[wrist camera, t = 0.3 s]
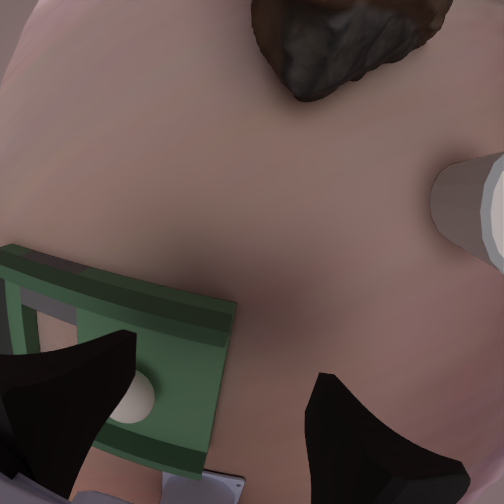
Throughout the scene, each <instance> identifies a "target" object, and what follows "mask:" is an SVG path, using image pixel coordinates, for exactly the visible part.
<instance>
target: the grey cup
mask: <svg viewBox="0 0 504 504" xmlns="http://www.w3.org/2000/svg"><path fill="white" fill-rule="evenodd" d="M430 209H431V216H432V219H433V221H434V223H435V225H436V227H437V229H438V231H439V232H440V233H441V234H442V235H443V236H444V237H445V238H447V239H448V240H449V241H451V242H453V243H454V244H456V245H458V246H459V247H461V248H463V249H464V250H466V251H468V252H469V253H471V254H472V255H474V256H476V257H477V258H479V259H481V260H482V261H484V262H485V263H487V264H488V265H490V266H492V267H493V268H495V269H496V270H498V271H499V272H501V273H502V274H504V152H500V153H496V154H492V155H488V156H484V157H480V158H476V159H472V160H468V161H464V162H460V163H456V164H452V165H449V166H448V167H447V168H445V169H444V170H443V171H441V172H440V173H439V175H438V176H437V178H436V180H435V182H434V184H433V185H432V190H431V196H430Z"/></svg>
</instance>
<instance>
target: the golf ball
mask: <svg viewBox="0 0 504 504" xmlns="http://www.w3.org/2000/svg"><path fill="white" fill-rule="evenodd" d="M154 401H155V394H154V390H153V387H152V385H151V383H150V381H149V380H148V378H147V377H146V376H145V375H144V374H142V373H141V372H139V371H138V370H136V375H135V377H134V379H133V381H132V383H131V385H130V387H129V389H128V391H127V393H126V394H125V396H124V397H123V399H122V400H121V401H120V403H119V404H118V406H117V407H116V408H115V410H114V411H113V413H112V414H111V415H110V417H111V418H112V419H114V420H116V421H118V422H121V423H136V422H139V421H141V420H143V419H144V418H146V417H147V416H148V415H149V413H150V412H151V410H152V408H153V406H154Z"/></svg>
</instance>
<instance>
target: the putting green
mask: <svg viewBox="0 0 504 504" xmlns="http://www.w3.org/2000/svg"><path fill="white" fill-rule="evenodd" d="M236 305H237V303H236V302H231V301H226V300H222V299H217V298H213V297H208V296H204V295H199V294H195V293H191V292H186V291H182V290H178V289H174V288H170V287H165V286H161V285H157V284H153V283H149V282H145V281H141V280H137V279H133V278H129V277H126V276H122V275H118V274H114V273H110V272H107V271H103V270H99V269H96V268H92V267H88V266H85V265H81V264H78V263H74V262H71V261H67V260H64V259H60V258H57V257H54V256H50V255H47V254H44V253H40V252H37V251H34V250H30V249H27V248H24V247H21V246H18V245H14V244H9V245H5V246H2V247H0V354H8V355H20V354H33V353H40V346H39V337H38V328H37V317H36V310H37V311H40V312H42V313H45V314H47V315H50V316H52V317H55V318H57V319H60V320H62V321H65V322H68V323H70V324H73V325H76V326H77V339H78V344H81V343H84V342H87V341H90V340H93V339H95V338H98V337H101V336H104V335H106V334H109V333H112V332H115V331H118V330H121V329H125V330H128V331H132V332H135V333H137V344H136V370H138V371H139V372H141V373H142V374H144V375H145V376H146V377H147V378H148V380H149V381H150V383H151V385H152V387H153V390H154V394H155V401H154V406H153V408H152V410H151V412H150V413H149V415H148V416H147V417H146V418H144V419H143V420H141V421H139V422H136V423H121V422H118V421H116V420H114V419H112V418H111V417H109V418H108V420H107V421H106V422H105V424H104V425H103V427H102V428H101V430H100V431H99V433H98V434H97V436H96V438H95V440H94V442H93V444H92V446H93V447H95V448H98V449H100V450H103V451H105V452H108V453H110V454H113V455H115V456H118V457H121V458H123V459H126V460H129V461H132V462H135V463H138V464H141V465H144V466H147V467H150V468H153V469H156V470H160V471H163V472H167V473H170V474H174V475H177V476H181V477H185V478H189V479H193V480H197V481H200V480H201V476H202V472H203V468H204V464H205V460H206V456H207V452H208V448H209V444H210V439H211V434H212V429H213V423H214V418H215V413H216V408H217V403H218V397H219V392H220V387H221V382H222V377H223V372H224V366H225V361H226V356H227V351H228V346H229V341H230V336H231V330H232V325H233V320H234V315H235V310H236Z"/></svg>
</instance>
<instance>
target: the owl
mask: <svg viewBox="0 0 504 504" xmlns="http://www.w3.org/2000/svg"><path fill="white" fill-rule="evenodd" d="M452 2H453V0H252V4H251V14H252V27H253V29H254V34H255V36H256V41H257V44H258V46H259V48H260V52H261V53H262V54H263V56H264V57H265V58H266V60H267V61H268V63H269V64H270V65H271V66H272V68H273V69H274V71H275V72H276V74H277V75H278V77H279V78H280V80H281V82H282V83H283V84H284V85H285V86H286V87H287V88H288V89H289V90H291V91H292V92H293V93H294V96H295V98H296V99H297V100H299V101H303V102H312V101H316V100H319V99H322V98H324V97H326V96H327V95H329V94H331V93H332V92H334V91H335V90H336V89H337V88H338V87H339V86H341V85H342V84H344V83H346V82H347V81H358V80H360V79H361V78H362V77H363V76H364V74H365V73H366V72H368V71H371V70H374V69H376V68H377V67H378V66H380V65H381V64H384V63H395V62H398V61H400V60H402V59H403V58H404V57H406V56H407V54H408V53H409V52H410V51H411V50H414V49H416V48H419V47H420V46H422V45H424V44H425V43H426V41H427V40H429V39H430V38H432V37H433V36H434V35H435V34H436V33H437V31H439V30H440V29H441V27H442V25H443V23H444V19H445V15H446V14H447V12H448V11H449V9H450V7H451V5H452Z"/></svg>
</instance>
